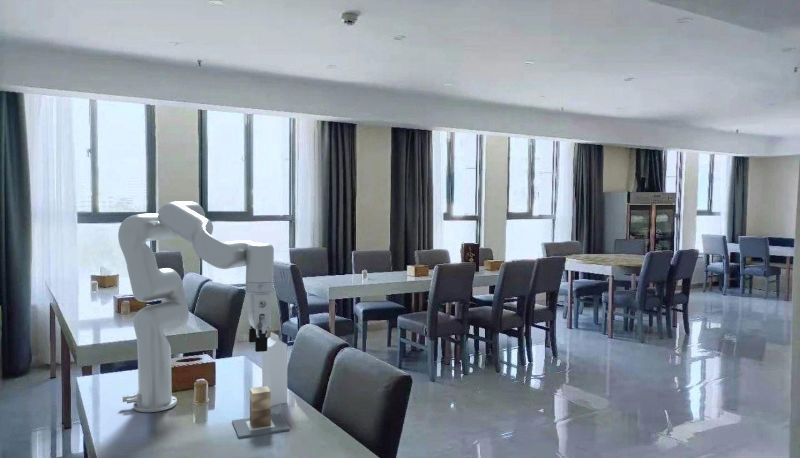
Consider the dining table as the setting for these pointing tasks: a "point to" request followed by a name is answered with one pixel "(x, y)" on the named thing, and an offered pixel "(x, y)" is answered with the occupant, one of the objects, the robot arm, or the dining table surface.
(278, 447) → the dining table surface
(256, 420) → the walnut block
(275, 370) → the milk
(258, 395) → the oak block
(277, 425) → the mat
